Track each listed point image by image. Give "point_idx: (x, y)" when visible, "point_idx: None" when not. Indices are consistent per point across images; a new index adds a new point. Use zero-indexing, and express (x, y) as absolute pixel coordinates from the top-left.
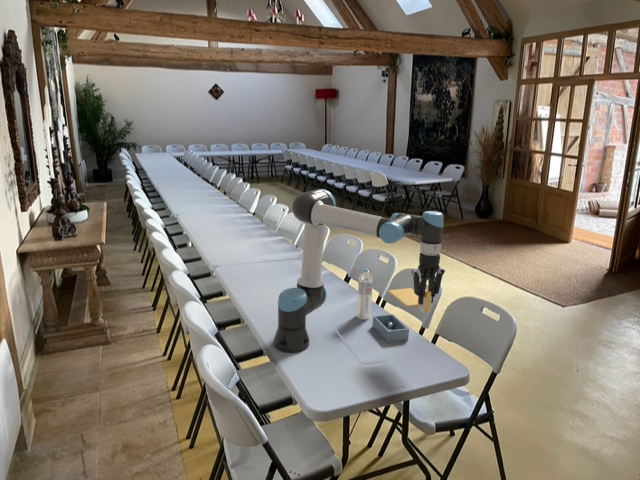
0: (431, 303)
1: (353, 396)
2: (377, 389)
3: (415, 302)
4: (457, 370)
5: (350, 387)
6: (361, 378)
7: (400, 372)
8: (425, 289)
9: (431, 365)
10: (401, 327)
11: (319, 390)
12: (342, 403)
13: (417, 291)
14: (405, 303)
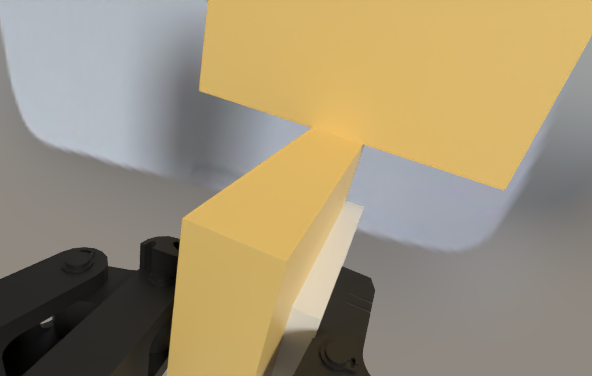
0: (502, 186)
1: (108, 138)
2: (171, 149)
3: (331, 72)
4: (469, 227)
5: (114, 101)
6: (156, 79)
7: (280, 120)
8: (218, 370)
9: None
10: None
11: (45, 68)
12: (79, 145)
13: (7, 363)
14: (212, 33)
